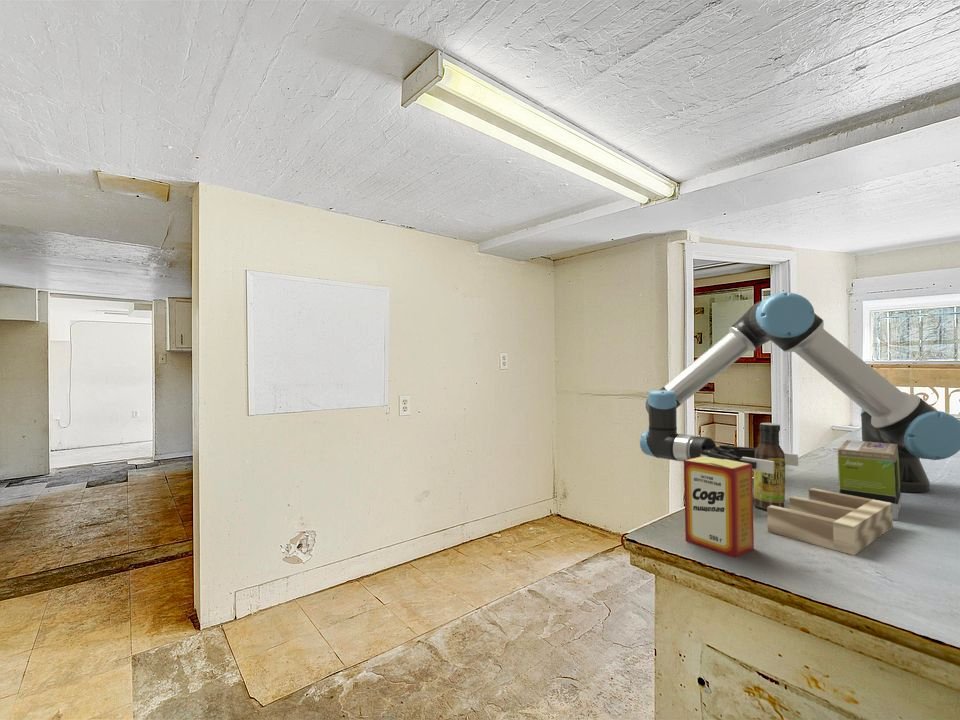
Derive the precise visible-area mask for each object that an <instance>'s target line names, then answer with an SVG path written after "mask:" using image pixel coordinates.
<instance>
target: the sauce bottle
mask: <svg viewBox="0 0 960 720" xmlns="http://www.w3.org/2000/svg"><path fill="white" fill-rule="evenodd" d="M759 430H760V438H759V444H758V446H757V447H755V448H756V449H755V459H761V460H768V461H774V474H769V473H764V472H758V471H753V504H754V505H755V507H758V508H759V509H763V510H767V507H768V506H771V505H773V506H778V507H782V508H785V501H786V464H785V454H784V453H785V452H784V450H783V449H782V448H781V446H780V431H781V425H780V424H778V423H776V422H775V423H773V422H761V423H760V424H759Z"/></svg>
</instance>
